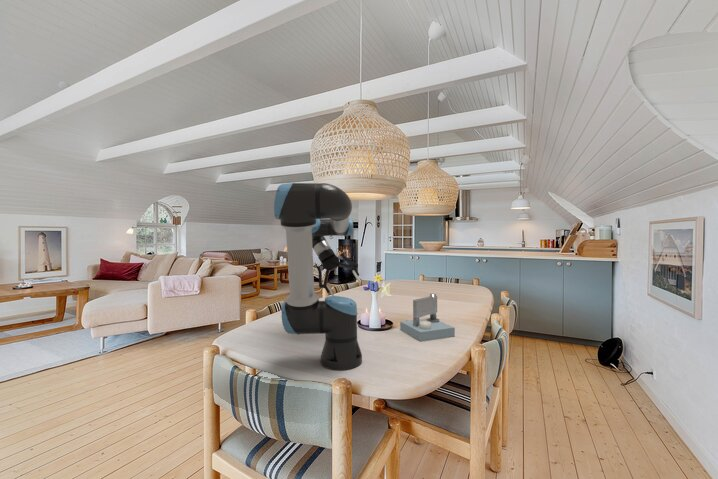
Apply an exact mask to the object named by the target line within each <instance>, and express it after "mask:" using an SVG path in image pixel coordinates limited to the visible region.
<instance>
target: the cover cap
mask: <svg viewBox="0 0 718 479" xmlns="http://www.w3.org/2000/svg"><path fill="white" fill-rule="evenodd" d="M420 328H421V329H431V322H429V321H420Z"/></svg>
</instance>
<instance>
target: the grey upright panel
mask: <svg viewBox="0 0 718 479" xmlns="http://www.w3.org/2000/svg"><path fill="white" fill-rule="evenodd" d="M412 312H413V313H412V315H413V316H412V320H413V325H415V326H418V325H419V319H420V318H422V317H426V316H428V315H429V318H430V320H436V318H437V313H438V295H437V293H430V294H429V296H426V297H420V298H416V299H413V300H412Z"/></svg>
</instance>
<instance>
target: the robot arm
mask: <svg viewBox="0 0 718 479" xmlns="http://www.w3.org/2000/svg"><path fill="white" fill-rule="evenodd" d="M352 209H353V203H352V200H351V198H350V196H349V195H348V194H347V193H346V192H345V191H344V190H343V189H341V188H340V187H337V186H336V185H333V184H330V183H326V182H324V183H323V182H319V183H317V182H316V183H315V182H313V183H312V182H290V183H289V182H288V183H281V184H279V185H278V187H277V189H276V192H275V195H274V202H273V214H274V218H275V219H277V220H280V227H282V228H284V230H285V237H286V238H285V240H286V253H287V257H286V258H287V269H288V270H287V271H288V283H289V284H288V286H289V294H288V296H286V298H285V301H283V303H282V304H281V309H280V310H281V322H282V323H281V324H282V326H283V330H284V331H285V332H286V333H287V334H290V335H297V336H299V335H317V334H319V335H320V334H324V335H325V341H324V344H323V348H322V350H321V354H320V364H321V365H322V367H324V368H326V369H329V370H335V371H337V370H338V371H343V370H344V371H345V370H350V369H354V368H357V367H358V366H360V365H362V363H363V354H362V351H361V348H360V344H359V342H358V317H357V316H358V307H357V303H356V301H355V300H354V299H352V298H350V297H346V296H339V295H334V292H333V291H332V289H331V288H330V286H329V285H328V280H329V275H330V272H332V271H334V270H336V269H338V267H339V268H344V269H347V270H351V271H352V274H353V276H354V277H355V279H356V280H357V282H358V284H359V285H360V284H362V280H361V279H360V277H359V276H360V273H359V272H358V270H357V269H358V267H359V264H358V263H356V262H355V261H353V260H352V259H351V258H348V257H347V256H345V255H344V253H340V255H339V256H337V255H336V253H335V251H334V250H333V249H332V247H331V245H330V244H329V242H328V241H327V239H326V237H332V236H333V237H334V236H336V237H337V236H341V237H343V236H345V237H347V236H352V235H353V234H354V221H353V219H350V215H351V213H352ZM313 251H314V252H315V255H316V256H317V257H318V260H319V261H320V263H321V264H322V265H320V266H317V267H316V269H317V271H318V272H317V273H318V288H319V289H321V290H322V289H324V290H325V292H326V293H327V294H330V295H331V296H326V297H325V299H324V300H320V299H319V298H320V297H319V295H318V294H317V293H316V292H315V280H314V279H315V278H314V276H315V275H314V254H313ZM340 260H343V261H344V262H346V263H347V264H346V263H343V262H341V261H340ZM323 269H325V275H324V280H323V278H322V277H323V276H322V272H323Z"/></svg>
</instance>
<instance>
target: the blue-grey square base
mask: <svg viewBox="0 0 718 479" xmlns="http://www.w3.org/2000/svg"><path fill="white" fill-rule="evenodd" d="M420 321H429V322H431V329H421V328H420ZM399 323H400V325H399V330H400V331H402V332H404V334H407V335H408V336H410V337H412V338H414V339H415V340H417V341H419V342H425V341H433V340H439V339H446V338H453V337H455V330H456V329H455V326H452V325H450V324H447V323H444V322H442V321H441V320H440V318H437V317H436V320H430V317H427V318H419V325H418V326H415V325H413V319H411V320H402V321H400V322H399Z"/></svg>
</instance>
